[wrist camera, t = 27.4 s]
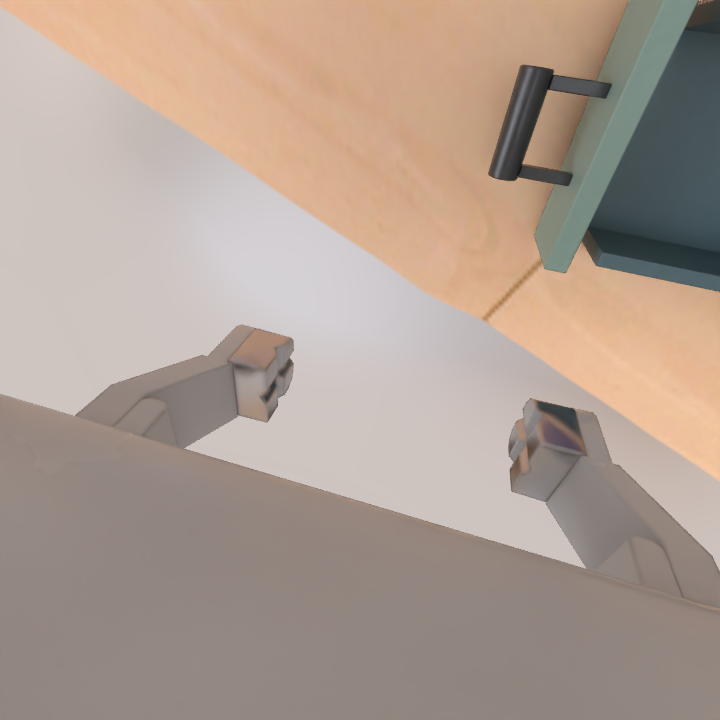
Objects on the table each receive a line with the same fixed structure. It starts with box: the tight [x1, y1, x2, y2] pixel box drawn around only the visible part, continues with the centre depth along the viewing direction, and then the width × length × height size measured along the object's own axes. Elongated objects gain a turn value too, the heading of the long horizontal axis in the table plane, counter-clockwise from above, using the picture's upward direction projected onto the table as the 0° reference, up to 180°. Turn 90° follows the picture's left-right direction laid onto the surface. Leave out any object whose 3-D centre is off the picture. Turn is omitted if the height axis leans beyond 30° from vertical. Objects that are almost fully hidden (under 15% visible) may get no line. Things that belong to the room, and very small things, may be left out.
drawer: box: [488, 0, 720, 292], centre depth 20 cm, size 19×12×6 cm, turn 83°
